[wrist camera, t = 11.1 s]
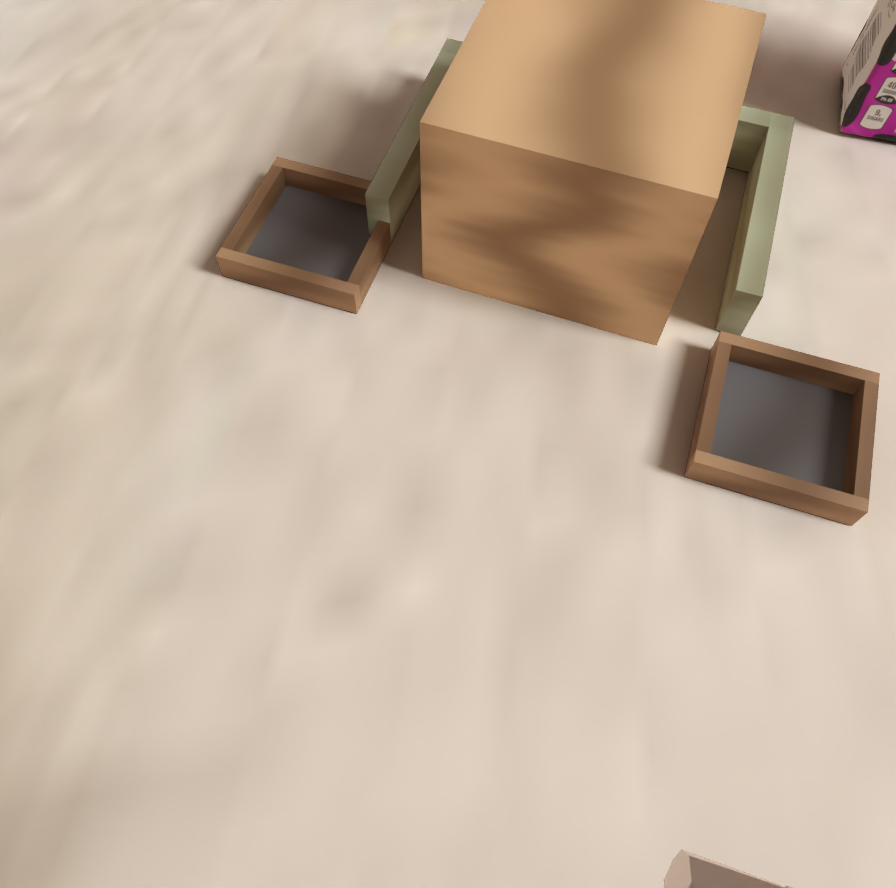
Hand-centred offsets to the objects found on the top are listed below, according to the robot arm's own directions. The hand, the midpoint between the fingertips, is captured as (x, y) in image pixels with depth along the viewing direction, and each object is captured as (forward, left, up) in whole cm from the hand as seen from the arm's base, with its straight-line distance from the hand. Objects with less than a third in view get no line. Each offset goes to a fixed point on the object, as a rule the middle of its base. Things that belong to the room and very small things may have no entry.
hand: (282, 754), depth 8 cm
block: (-1, +25, -17) cm, 30 cm away
